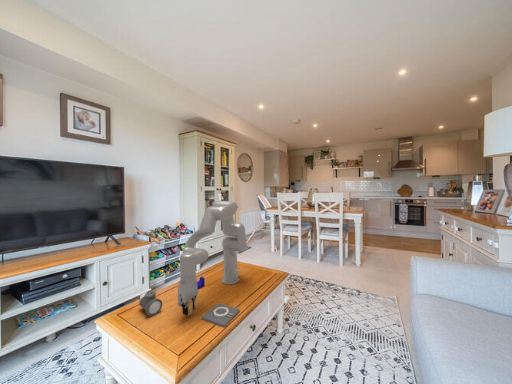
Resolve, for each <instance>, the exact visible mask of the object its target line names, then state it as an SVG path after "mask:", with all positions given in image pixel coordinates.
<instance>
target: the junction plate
mask: <svg viewBox="0 0 512 384" xmlns="http://www.w3.org/2000/svg"><path fill="white" fill-rule="evenodd" d="M239 313H240V308H237V307H233V306H230V305H226V304H223V303H220V302H218V303H216V305H214V306H213V307H212V308H210V309H209V310H208V311H207V312H206V313H205V314H203V315H202V316H201V320H202V321H205V322H207V323H210V324H212V325H213V324H214V325H216V326H219V327H221V326H222V328H224V327H225V326H226V325H227V324H228V323H229V324H230V323H231V321H232V320H233V319H234V318H236V316H237V315H239ZM229 324H228V325H229ZM228 325H227V326H228ZM227 326H226V327H227ZM226 327H225V328H226Z"/></svg>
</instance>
